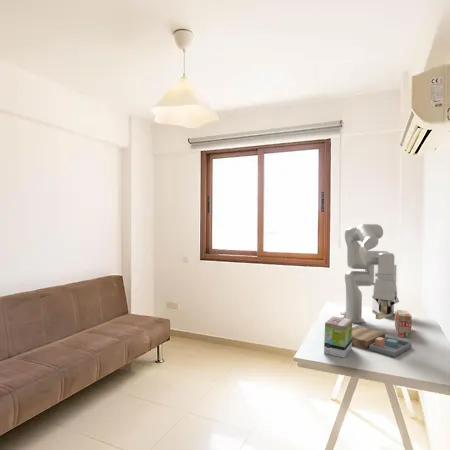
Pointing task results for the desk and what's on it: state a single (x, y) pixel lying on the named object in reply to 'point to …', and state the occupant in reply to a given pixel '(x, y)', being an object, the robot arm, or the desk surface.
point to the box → (392, 351)
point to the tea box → (338, 336)
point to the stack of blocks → (403, 323)
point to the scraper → (383, 310)
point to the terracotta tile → (380, 342)
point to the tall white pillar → (375, 305)
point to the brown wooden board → (364, 337)
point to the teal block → (391, 343)
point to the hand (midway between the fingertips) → (385, 312)
